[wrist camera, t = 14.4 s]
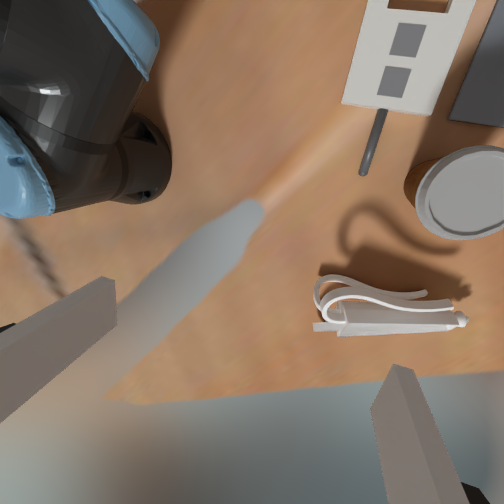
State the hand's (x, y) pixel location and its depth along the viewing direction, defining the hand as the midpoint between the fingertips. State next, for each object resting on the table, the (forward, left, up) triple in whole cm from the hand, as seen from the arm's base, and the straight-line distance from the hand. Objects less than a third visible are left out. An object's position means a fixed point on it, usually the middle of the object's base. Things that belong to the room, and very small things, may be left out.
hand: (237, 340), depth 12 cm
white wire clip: (+16, -12, -33) cm, 39 cm away
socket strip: (+8, +20, -33) cm, 39 cm away
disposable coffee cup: (+17, +7, -33) cm, 38 cm away
